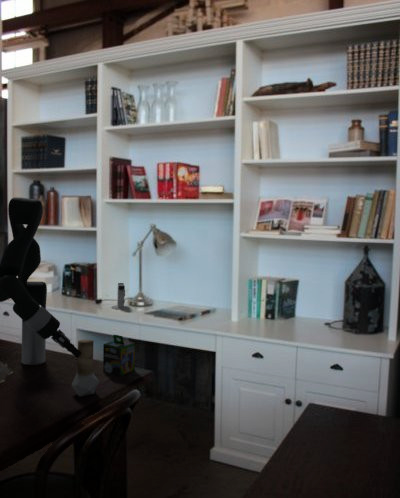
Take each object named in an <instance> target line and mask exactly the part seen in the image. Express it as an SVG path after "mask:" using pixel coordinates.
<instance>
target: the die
mask: <svg viewBox="0 0 400 498" xmlns="http://www.w3.org/2000/svg"><path fill="white" fill-rule="evenodd" d="M99 382H100V380H99V379H98V377H97V376H96V375H95V373H94V372H93V373H92V374H90V375H79V374H78V373H77V372H76V374H75V376H74V377H73V381H72V383H71V387H72V389H73V390H74V392H75V393H76V394H77V396H78V397H80V398H81V397H86V396H89V395H91V394H92V395H94V394H95V391H96V389H97V387H98V384H99Z"/></svg>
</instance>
